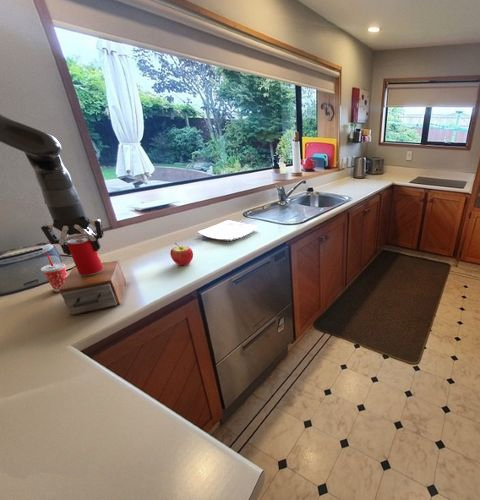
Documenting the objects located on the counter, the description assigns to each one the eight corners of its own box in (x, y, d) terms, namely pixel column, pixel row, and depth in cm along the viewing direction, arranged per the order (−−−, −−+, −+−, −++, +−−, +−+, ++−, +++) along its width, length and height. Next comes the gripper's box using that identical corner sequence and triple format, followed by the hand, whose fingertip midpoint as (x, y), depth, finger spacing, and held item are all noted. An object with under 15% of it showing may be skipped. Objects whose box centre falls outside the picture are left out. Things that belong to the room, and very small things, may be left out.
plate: (228, 223, 170) (227, 219, 169) (261, 229, 163) (261, 225, 161) (194, 236, 149) (193, 232, 148) (231, 245, 142) (230, 240, 141)
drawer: (114, 311, 90) (106, 291, 87) (67, 322, 85) (57, 301, 82) (122, 284, 105) (116, 265, 101) (82, 291, 99) (74, 272, 96)
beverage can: (100, 266, 99) (88, 234, 94) (106, 271, 96) (94, 239, 91) (77, 273, 94) (63, 240, 89) (82, 279, 91) (68, 245, 86)
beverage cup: (55, 285, 104) (39, 251, 98) (76, 282, 106) (62, 249, 100) (47, 294, 99) (30, 258, 93) (70, 290, 101) (54, 256, 95)
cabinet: (120, 304, 95) (111, 280, 91) (71, 315, 89) (59, 289, 85) (126, 282, 107) (118, 260, 103) (83, 290, 101) (73, 267, 97)
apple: (176, 259, 125) (171, 239, 121) (197, 258, 127) (192, 238, 123) (170, 268, 118) (164, 247, 114) (192, 267, 120) (187, 245, 116)
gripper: (97, 197, 91) (113, 244, 98) (35, 201, 84) (57, 251, 91) (91, 203, 85) (109, 252, 92) (25, 208, 78) (49, 261, 85)
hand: (83, 252), depth 92 cm, fingers closed on beverage can, 6 cm apart
